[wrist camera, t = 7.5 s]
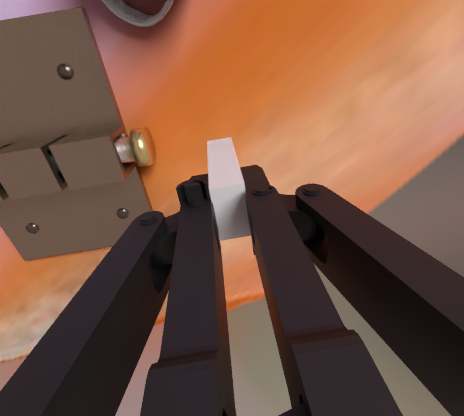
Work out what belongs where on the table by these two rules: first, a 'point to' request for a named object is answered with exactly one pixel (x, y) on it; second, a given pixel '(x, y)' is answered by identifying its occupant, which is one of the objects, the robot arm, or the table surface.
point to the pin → (130, 149)
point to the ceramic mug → (136, 13)
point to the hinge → (61, 140)
